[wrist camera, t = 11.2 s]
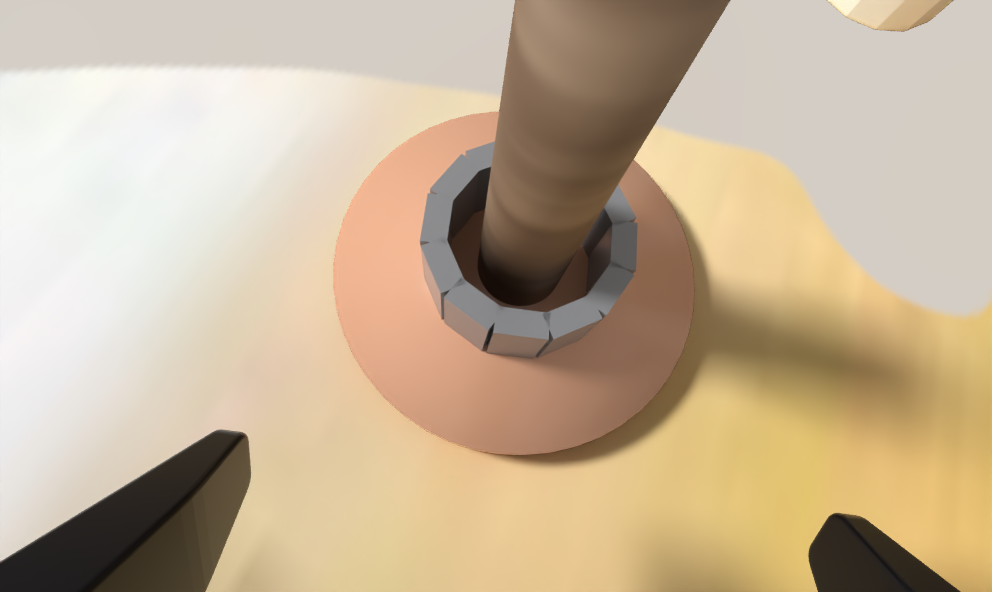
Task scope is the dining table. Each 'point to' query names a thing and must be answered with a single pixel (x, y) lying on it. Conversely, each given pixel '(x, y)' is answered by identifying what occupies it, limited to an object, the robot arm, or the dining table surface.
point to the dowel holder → (499, 326)
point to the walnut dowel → (575, 125)
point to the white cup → (890, 12)
